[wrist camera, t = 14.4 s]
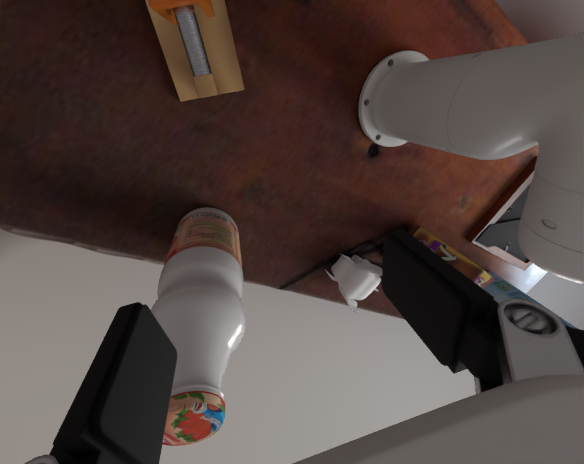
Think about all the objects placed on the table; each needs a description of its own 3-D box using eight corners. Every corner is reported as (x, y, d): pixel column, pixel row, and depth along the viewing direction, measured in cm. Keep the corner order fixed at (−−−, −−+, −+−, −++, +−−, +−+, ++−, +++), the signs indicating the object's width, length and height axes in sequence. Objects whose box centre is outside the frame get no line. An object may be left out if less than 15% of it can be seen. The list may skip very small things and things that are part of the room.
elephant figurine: (342, 235, 47) (365, 262, 40) (380, 259, 53) (407, 287, 45) (312, 271, 50) (328, 303, 42) (351, 291, 55) (371, 322, 48)
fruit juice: (247, 242, 43) (275, 425, 19) (196, 264, 43) (162, 476, 19) (222, 196, 38) (220, 365, 14) (165, 219, 38) (66, 432, 14)
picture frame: (465, 238, 56) (518, 266, 66) (472, 242, 54) (525, 271, 64) (535, 156, 49) (582, 202, 60) (546, 158, 48) (592, 205, 58)
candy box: (419, 224, 51) (486, 269, 38) (430, 233, 53) (498, 279, 40) (389, 257, 53) (443, 310, 40) (401, 264, 55) (456, 317, 42)
